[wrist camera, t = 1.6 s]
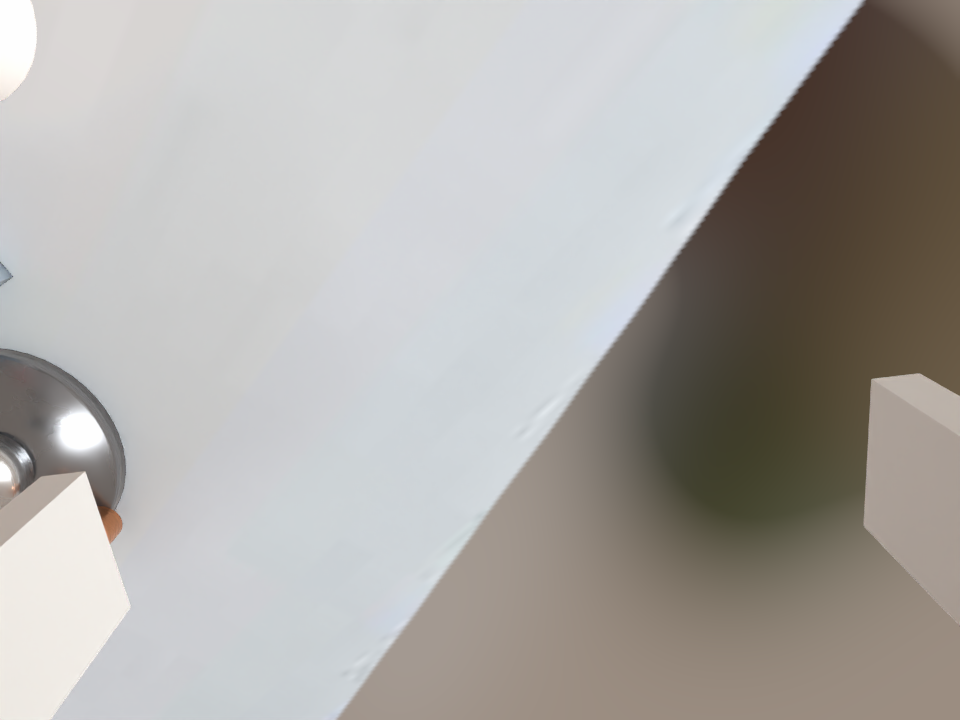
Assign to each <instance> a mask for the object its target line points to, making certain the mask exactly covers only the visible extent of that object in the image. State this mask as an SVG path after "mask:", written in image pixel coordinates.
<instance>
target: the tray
mask: <svg viewBox="0 0 960 720" xmlns="http://www.w3.org/2000/svg"><path fill="white" fill-rule="evenodd" d="M12 277H13V276H12V275H11V274H10V273H9V272H8V270H7V269H6V268H5V267H4V266H3V265H2V264H1V262H0V286H1V285H3V284H4V283H5V282H7V281H8V280H9V279H11V278H12Z"/></svg>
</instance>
